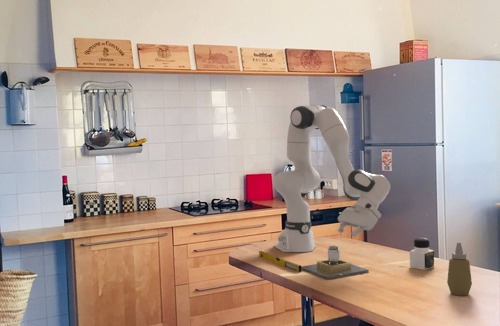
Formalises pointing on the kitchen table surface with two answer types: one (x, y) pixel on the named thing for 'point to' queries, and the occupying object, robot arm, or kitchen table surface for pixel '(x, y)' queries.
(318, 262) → the collar plate
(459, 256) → the squeeze bottle
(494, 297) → the kitchen table surface
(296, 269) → the spirit level
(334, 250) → the domed metal canister
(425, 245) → the medicine bottle
